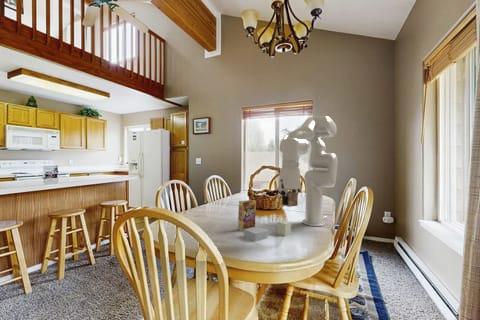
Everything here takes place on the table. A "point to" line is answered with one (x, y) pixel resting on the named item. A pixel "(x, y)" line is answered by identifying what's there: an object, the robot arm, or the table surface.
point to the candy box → (246, 214)
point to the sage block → (283, 227)
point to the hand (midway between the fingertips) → (289, 203)
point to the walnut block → (292, 199)
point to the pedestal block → (255, 233)
